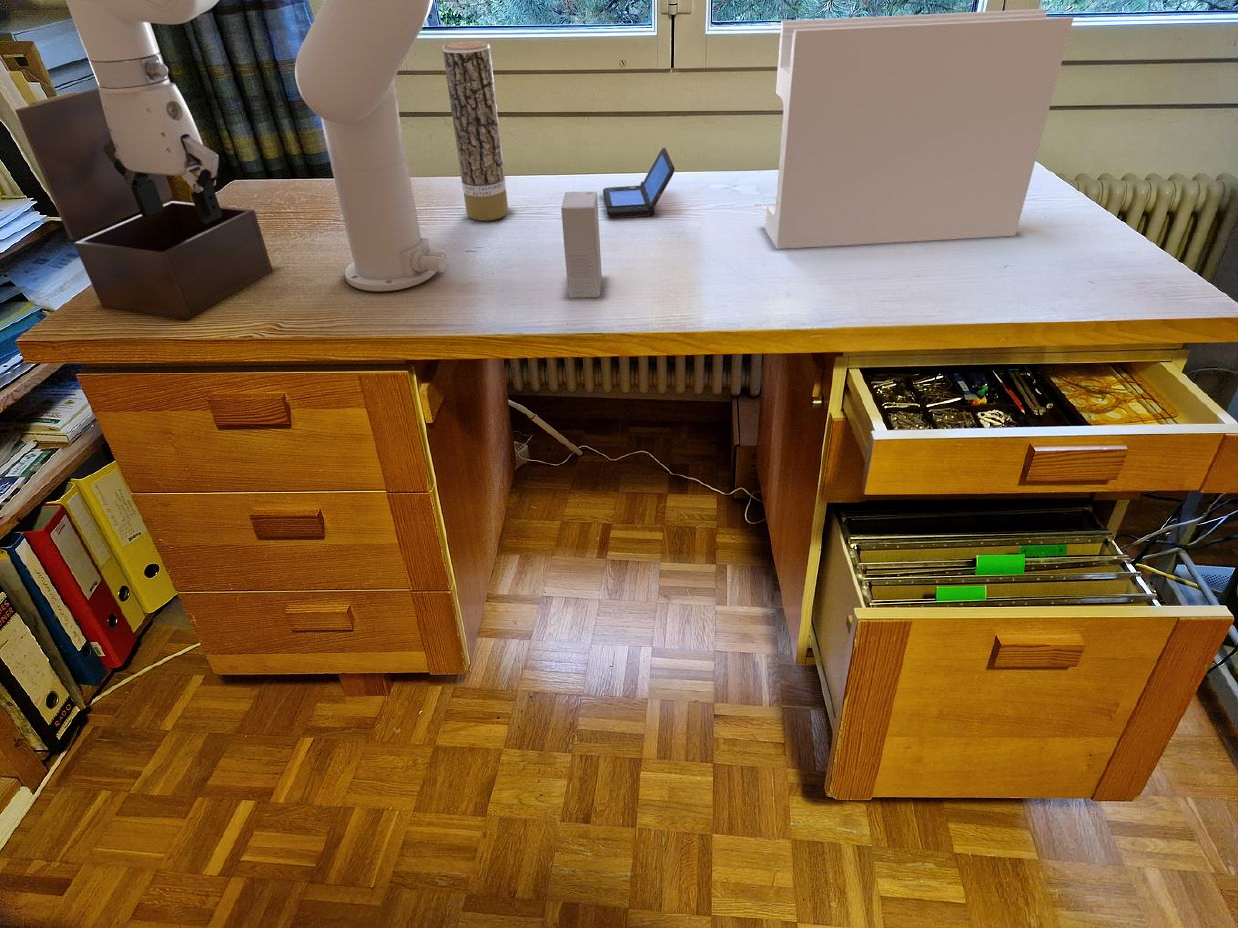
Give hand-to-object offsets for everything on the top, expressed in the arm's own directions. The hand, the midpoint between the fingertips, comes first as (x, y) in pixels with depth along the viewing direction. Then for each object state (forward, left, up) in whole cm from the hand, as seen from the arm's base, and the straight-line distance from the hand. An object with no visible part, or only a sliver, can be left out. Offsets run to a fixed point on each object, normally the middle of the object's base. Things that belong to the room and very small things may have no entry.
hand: (182, 216), depth 105 cm
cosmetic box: (-50, -15, -10) cm, 53 cm away
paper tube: (-24, -37, -10) cm, 45 cm away
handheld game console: (-46, -48, -10) cm, 67 cm away
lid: (+10, 0, +7) cm, 12 cm away
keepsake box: (+3, 0, -10) cm, 11 cm away
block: (-86, -46, -10) cm, 98 cm away
